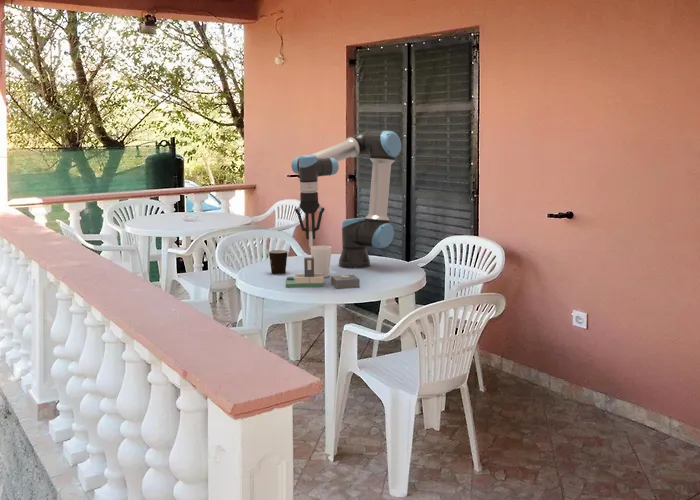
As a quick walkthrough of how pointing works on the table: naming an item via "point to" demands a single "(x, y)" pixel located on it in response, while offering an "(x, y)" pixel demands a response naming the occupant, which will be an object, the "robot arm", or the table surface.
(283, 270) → the coffee mug
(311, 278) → the socket
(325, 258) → the foam cup
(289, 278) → the board
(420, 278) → the table surface
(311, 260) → the plug
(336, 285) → the dark grey box
